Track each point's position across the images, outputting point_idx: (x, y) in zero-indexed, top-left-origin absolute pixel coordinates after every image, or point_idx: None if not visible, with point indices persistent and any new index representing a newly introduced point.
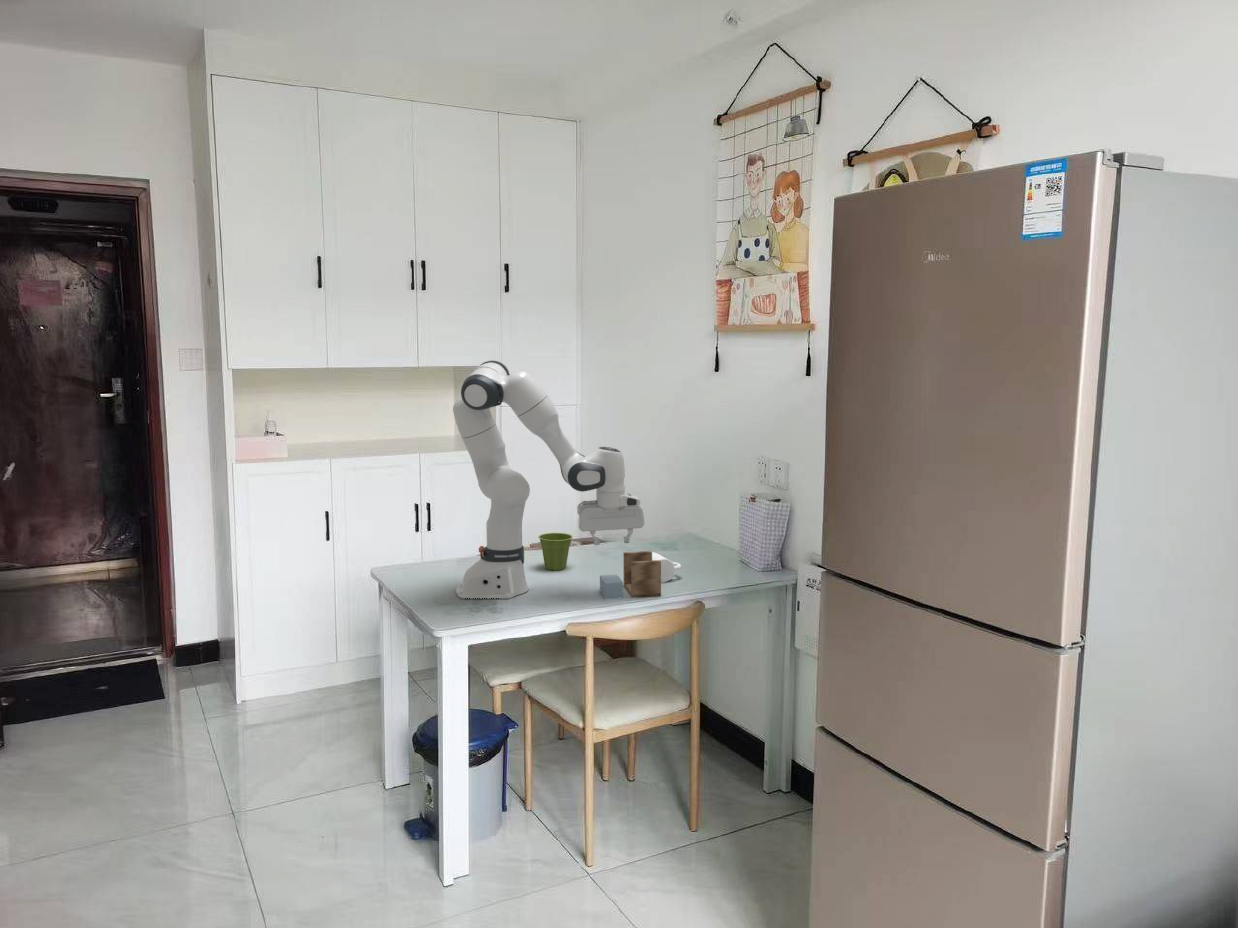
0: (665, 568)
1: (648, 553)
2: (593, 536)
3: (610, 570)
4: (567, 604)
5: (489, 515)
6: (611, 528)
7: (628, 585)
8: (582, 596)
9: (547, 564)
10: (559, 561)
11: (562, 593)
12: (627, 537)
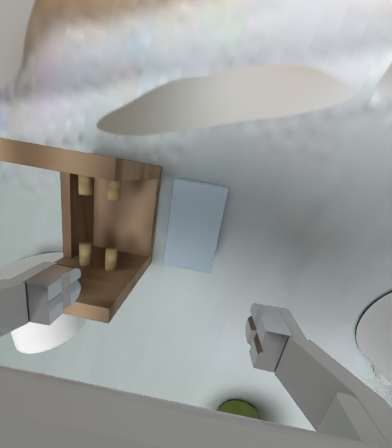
0: (27, 266)
1: None
2: (339, 369)
3: (143, 363)
4: (335, 171)
5: None
6: (120, 415)
7: (144, 242)
8: (269, 222)
9: None
10: None
11: (302, 261)
12: (25, 284)
